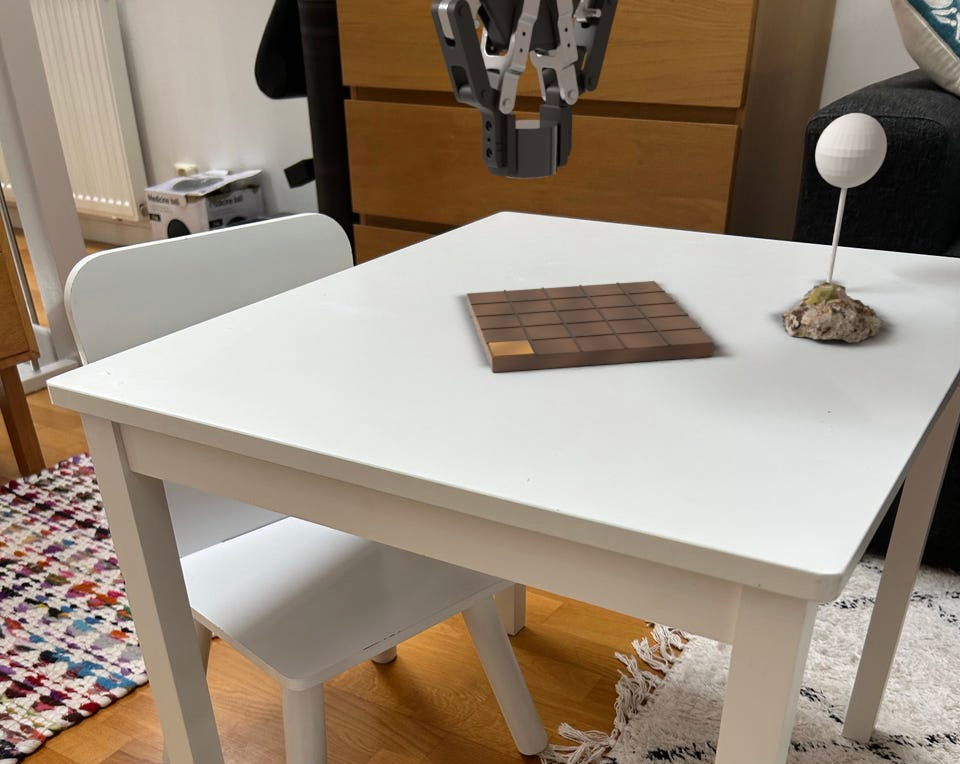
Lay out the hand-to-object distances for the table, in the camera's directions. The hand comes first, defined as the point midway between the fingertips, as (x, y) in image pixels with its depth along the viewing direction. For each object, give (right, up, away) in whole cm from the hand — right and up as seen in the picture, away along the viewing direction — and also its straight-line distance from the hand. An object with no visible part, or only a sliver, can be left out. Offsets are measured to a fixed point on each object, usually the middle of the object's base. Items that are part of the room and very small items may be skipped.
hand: (528, 168), depth 68 cm
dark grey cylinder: (0, 0, 0) cm, 0 cm away
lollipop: (+30, +1, +26) cm, 39 cm away
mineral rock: (+27, -6, +18) cm, 33 cm away
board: (+6, -5, +19) cm, 20 cm away
